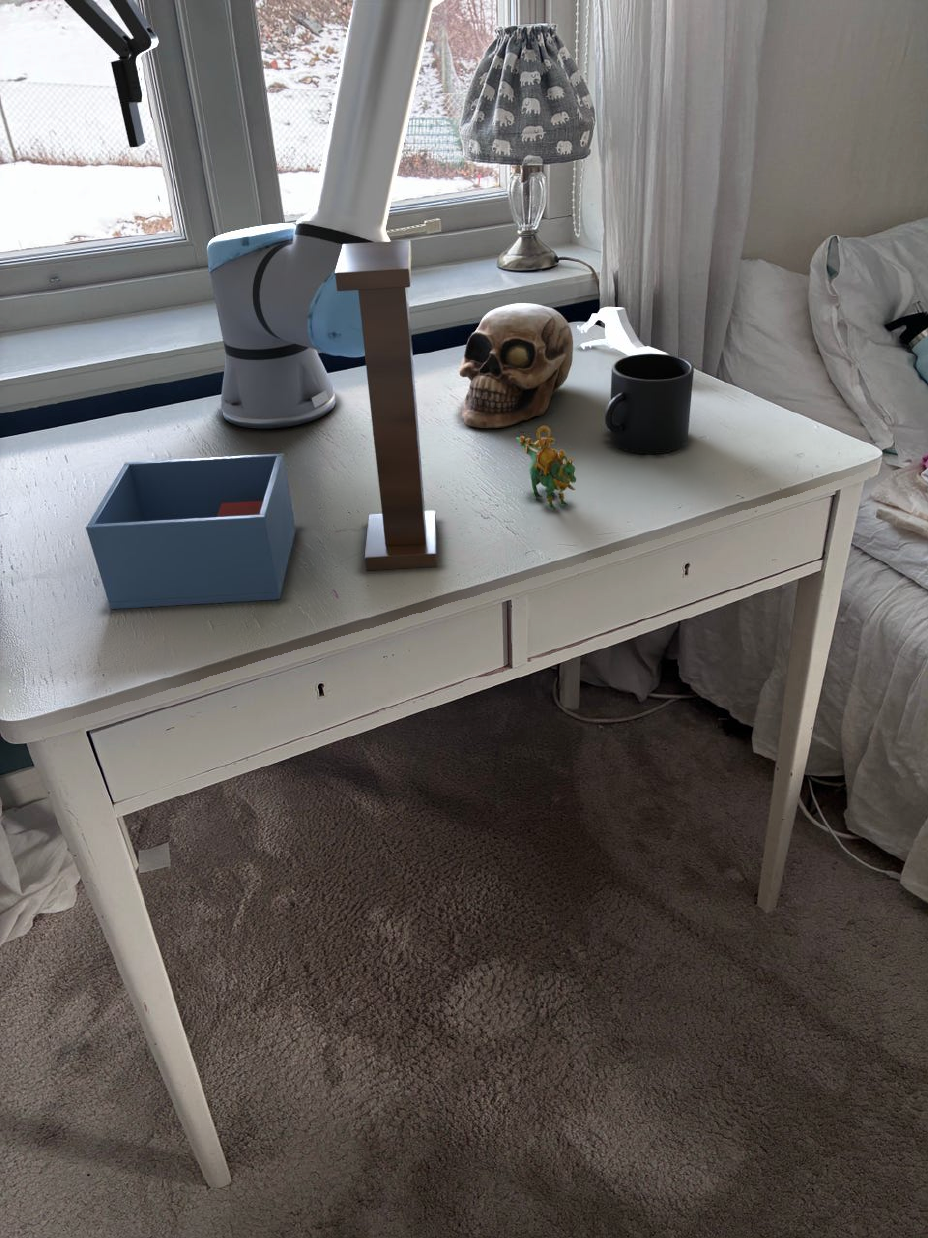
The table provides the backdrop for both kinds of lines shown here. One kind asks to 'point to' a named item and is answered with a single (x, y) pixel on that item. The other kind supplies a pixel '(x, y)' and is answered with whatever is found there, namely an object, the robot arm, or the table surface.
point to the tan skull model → (515, 364)
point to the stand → (391, 404)
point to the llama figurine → (617, 332)
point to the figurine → (548, 467)
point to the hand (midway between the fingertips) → (61, 149)
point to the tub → (193, 532)
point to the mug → (650, 403)
